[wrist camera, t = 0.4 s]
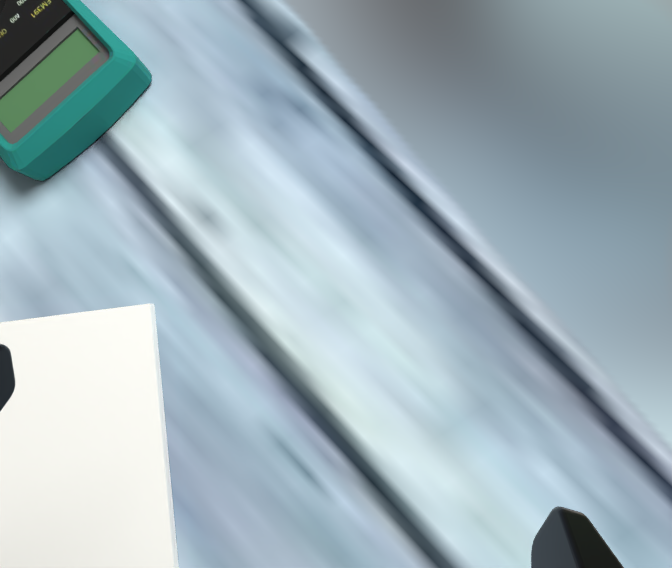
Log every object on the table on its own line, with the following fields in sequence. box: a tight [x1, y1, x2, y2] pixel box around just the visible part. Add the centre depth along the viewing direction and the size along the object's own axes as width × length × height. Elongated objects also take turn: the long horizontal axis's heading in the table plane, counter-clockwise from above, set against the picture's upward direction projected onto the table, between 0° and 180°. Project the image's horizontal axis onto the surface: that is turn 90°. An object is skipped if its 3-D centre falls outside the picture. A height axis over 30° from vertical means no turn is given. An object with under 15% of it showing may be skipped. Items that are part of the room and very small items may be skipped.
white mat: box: [0, 304, 179, 568], centre depth 23 cm, size 12×14×1 cm
